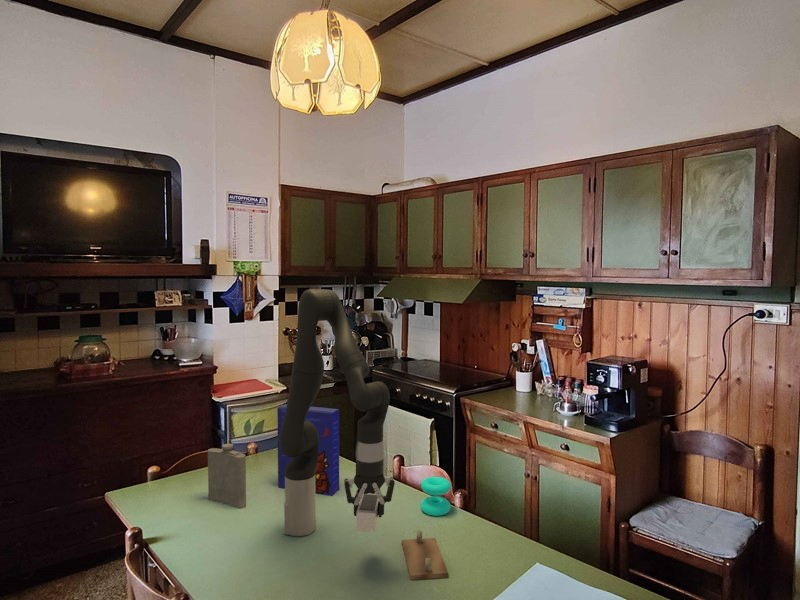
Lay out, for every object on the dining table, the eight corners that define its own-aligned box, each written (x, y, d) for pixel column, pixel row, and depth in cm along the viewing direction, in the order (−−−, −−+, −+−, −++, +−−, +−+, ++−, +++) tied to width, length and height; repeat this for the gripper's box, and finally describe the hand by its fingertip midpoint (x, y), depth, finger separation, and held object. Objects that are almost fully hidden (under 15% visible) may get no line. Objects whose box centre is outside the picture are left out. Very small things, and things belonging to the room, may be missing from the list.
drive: (356, 530, 138) (356, 511, 138) (362, 509, 150) (363, 491, 150) (375, 531, 138) (375, 512, 137) (380, 510, 150) (380, 492, 149)
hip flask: (206, 499, 183) (205, 443, 182) (215, 495, 187) (214, 439, 185) (241, 509, 176) (240, 450, 175) (249, 504, 180) (249, 446, 178)
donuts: (430, 473, 182) (456, 479, 177) (429, 501, 183) (455, 508, 178) (415, 483, 174) (442, 489, 169) (415, 512, 174) (442, 520, 169)
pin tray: (410, 580, 137) (410, 564, 136) (401, 543, 155) (401, 529, 154) (448, 577, 138) (448, 561, 138) (435, 541, 156) (435, 528, 155)
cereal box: (339, 489, 192) (339, 408, 190) (332, 496, 186) (331, 412, 184) (286, 481, 199) (285, 403, 197) (278, 487, 193) (277, 407, 191)
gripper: (343, 462, 138) (342, 524, 139) (397, 460, 140) (396, 522, 141) (342, 451, 145) (342, 511, 146) (394, 450, 147) (393, 509, 148)
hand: (368, 516), depth 144 cm, fingers closed on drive, 5 cm apart
